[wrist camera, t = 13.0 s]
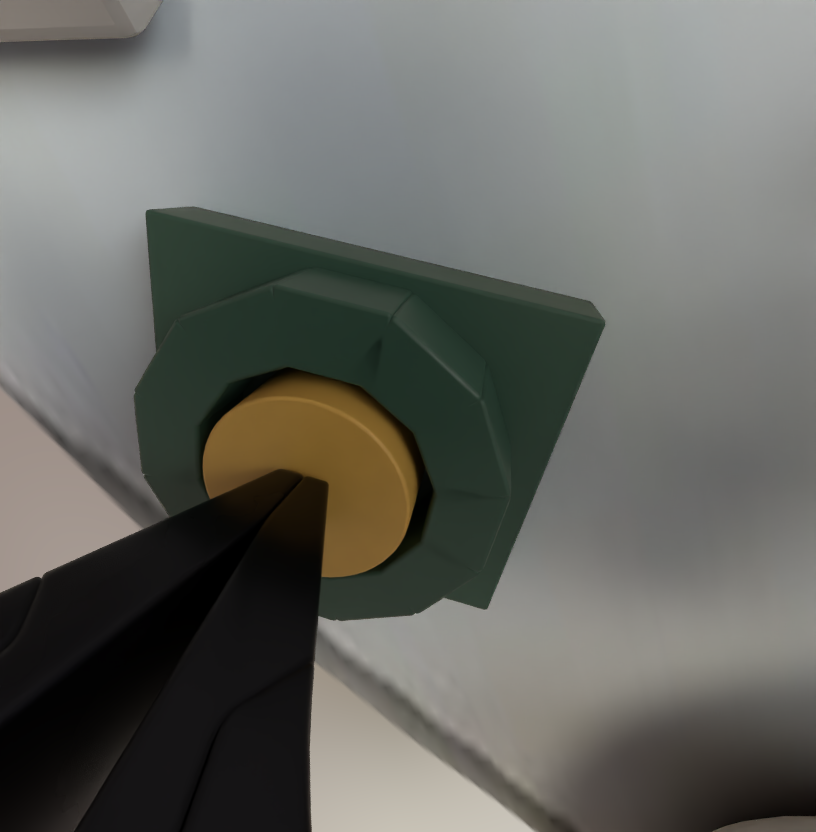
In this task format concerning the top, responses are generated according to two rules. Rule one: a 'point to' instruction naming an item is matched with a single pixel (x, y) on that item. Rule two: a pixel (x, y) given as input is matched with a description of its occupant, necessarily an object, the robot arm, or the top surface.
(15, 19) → the light switch
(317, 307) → the button box
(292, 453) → the button
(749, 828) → the decorative object
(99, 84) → the top surface
